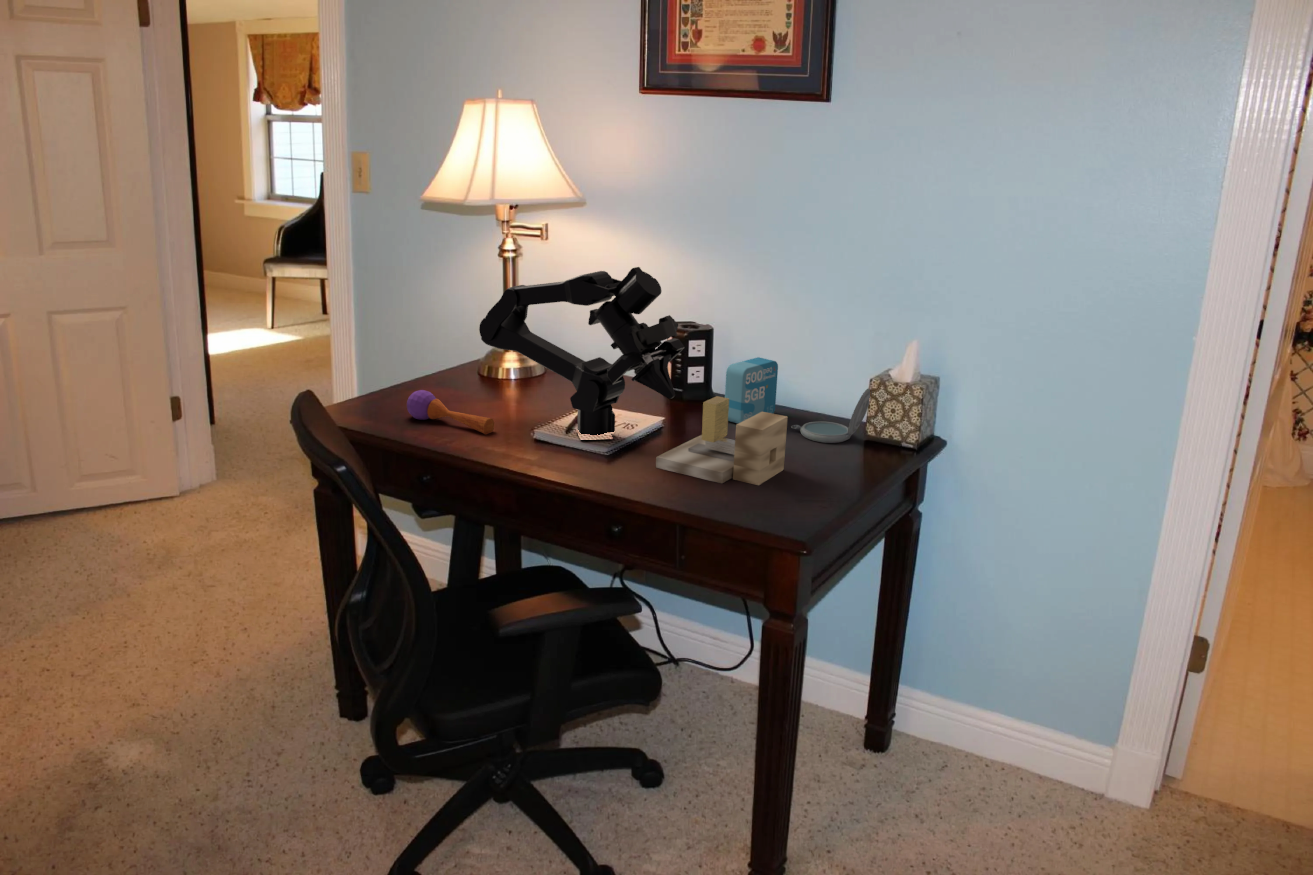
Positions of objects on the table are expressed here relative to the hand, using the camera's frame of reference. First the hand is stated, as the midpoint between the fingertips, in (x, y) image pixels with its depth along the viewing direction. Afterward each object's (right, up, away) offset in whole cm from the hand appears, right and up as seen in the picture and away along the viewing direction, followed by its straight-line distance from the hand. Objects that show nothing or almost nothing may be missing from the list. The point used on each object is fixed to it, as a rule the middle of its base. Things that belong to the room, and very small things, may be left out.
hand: (672, 397), depth 195 cm
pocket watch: (+31, -7, +17) cm, 36 cm away
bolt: (+9, -10, -3) cm, 14 cm away
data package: (+16, -4, +27) cm, 32 cm away
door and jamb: (+9, -13, -2) cm, 16 cm away
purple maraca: (-44, -5, +16) cm, 47 cm away
